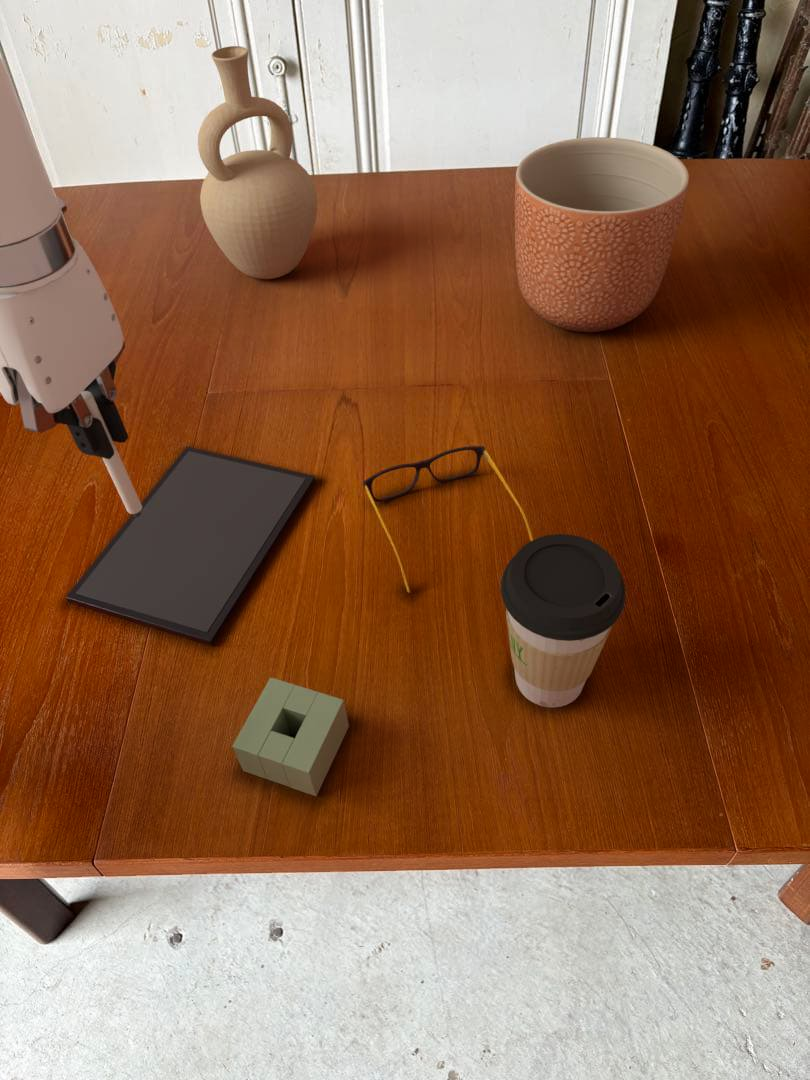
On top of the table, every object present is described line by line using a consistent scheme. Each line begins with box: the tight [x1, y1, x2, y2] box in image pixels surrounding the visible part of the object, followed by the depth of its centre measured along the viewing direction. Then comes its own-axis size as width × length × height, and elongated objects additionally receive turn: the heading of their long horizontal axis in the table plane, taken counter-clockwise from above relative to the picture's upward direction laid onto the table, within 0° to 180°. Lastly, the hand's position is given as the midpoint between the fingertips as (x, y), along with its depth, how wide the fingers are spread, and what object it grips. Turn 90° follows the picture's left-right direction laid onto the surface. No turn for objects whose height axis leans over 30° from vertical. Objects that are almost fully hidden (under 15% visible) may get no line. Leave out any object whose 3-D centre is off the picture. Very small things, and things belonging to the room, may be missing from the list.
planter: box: [514, 136, 690, 333], centre depth 107 cm, size 21×21×19 cm
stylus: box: [81, 391, 142, 517], centre depth 71 cm, size 1×1×14 cm
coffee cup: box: [500, 533, 627, 709], centre depth 69 cm, size 10×10×15 cm
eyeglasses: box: [362, 445, 534, 593], centre depth 86 cm, size 14×14×4 cm
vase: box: [197, 45, 318, 280], centre depth 114 cm, size 17×17×30 cm
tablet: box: [65, 446, 317, 647], centre depth 88 cm, size 17×24×1 cm
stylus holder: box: [231, 677, 350, 797], centre depth 69 cm, size 7×7×4 cm
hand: (104, 444), depth 70 cm, fingers closed on stylus, 1 cm apart
